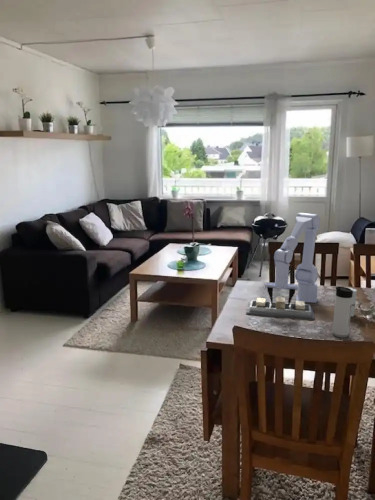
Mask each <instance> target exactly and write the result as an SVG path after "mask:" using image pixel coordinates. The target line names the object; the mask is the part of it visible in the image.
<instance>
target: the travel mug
mask: <svg viewBox="0 0 375 500" xmlns="http://www.w3.org/2000/svg"><path fill="white" fill-rule="evenodd" d="M349 288H350V287H346V286H335V300H334V308H333V309H334V312H333V322H332V332H331V333H332V335H333V336H335V337H337V338H342V339H343V338H344V339H345V338H348V337H349V335H350V324H351V317H352V316H351V307H352V297H353V296H352V294H353V290H350V289H349Z"/></svg>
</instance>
